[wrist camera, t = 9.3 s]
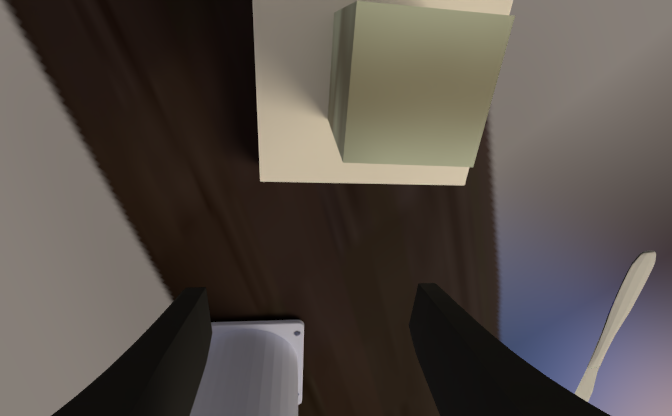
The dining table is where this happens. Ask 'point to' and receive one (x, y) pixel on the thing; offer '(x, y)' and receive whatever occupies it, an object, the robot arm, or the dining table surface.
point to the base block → (321, 95)
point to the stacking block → (413, 82)
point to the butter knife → (617, 317)
